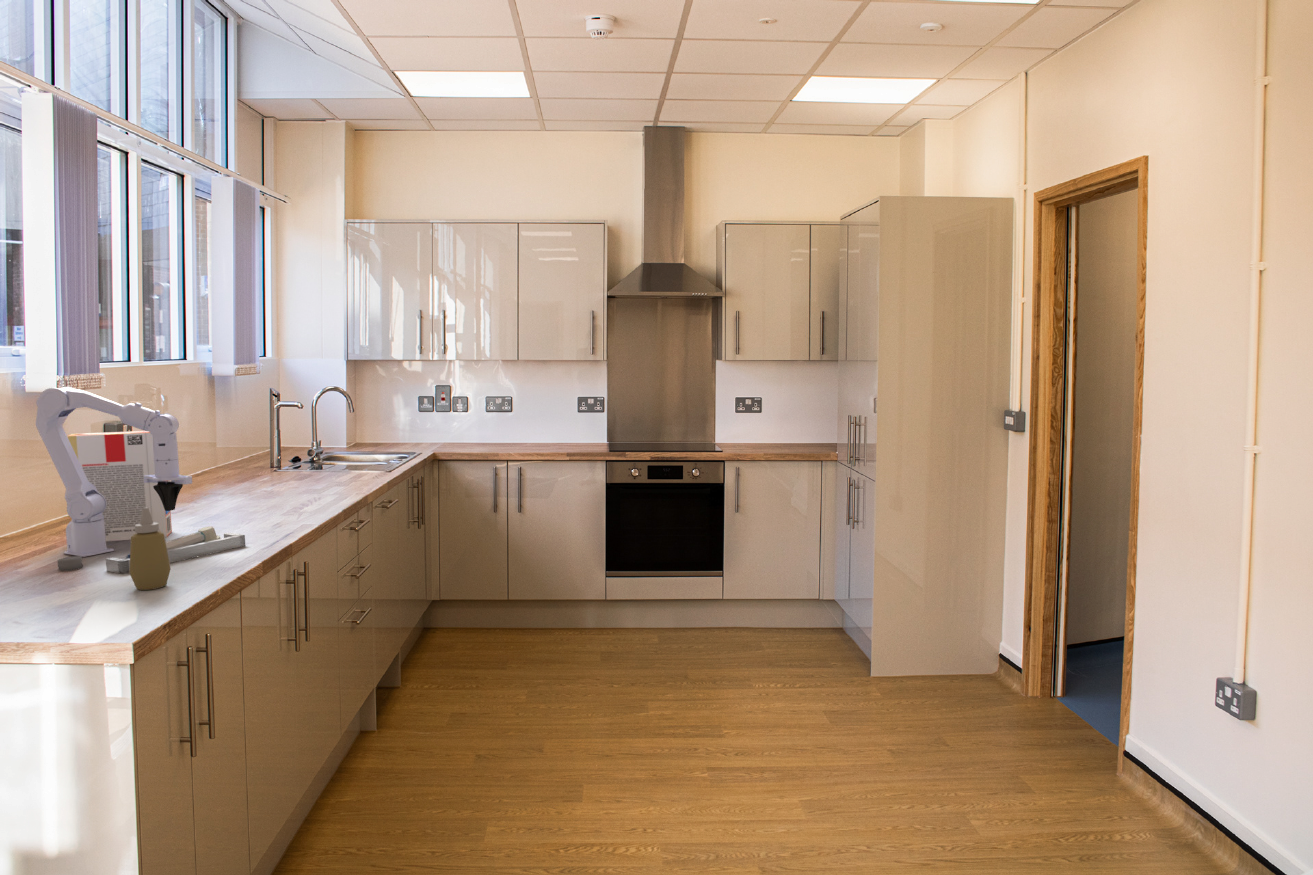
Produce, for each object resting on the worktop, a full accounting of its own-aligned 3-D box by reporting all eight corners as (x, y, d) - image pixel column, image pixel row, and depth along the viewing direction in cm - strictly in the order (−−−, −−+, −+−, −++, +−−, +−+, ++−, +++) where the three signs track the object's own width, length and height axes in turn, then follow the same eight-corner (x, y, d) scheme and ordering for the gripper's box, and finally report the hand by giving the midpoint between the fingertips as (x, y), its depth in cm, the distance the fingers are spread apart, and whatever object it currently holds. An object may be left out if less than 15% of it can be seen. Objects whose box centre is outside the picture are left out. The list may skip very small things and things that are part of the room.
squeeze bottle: (128, 593, 196) (121, 512, 195) (133, 585, 204) (127, 506, 202) (170, 589, 200) (164, 509, 198) (173, 580, 207) (167, 503, 205)
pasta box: (171, 531, 265) (164, 430, 262) (167, 536, 257) (159, 432, 254) (82, 538, 257) (73, 433, 254) (74, 543, 250) (65, 436, 247)
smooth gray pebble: (55, 569, 220) (54, 559, 220) (77, 565, 224) (76, 555, 224) (63, 572, 217) (62, 562, 217) (86, 567, 221) (85, 557, 221)
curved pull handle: (106, 570, 218) (105, 558, 217) (229, 543, 246) (229, 532, 246) (122, 573, 214) (121, 561, 214) (245, 545, 243) (244, 534, 243)
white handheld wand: (122, 552, 220) (207, 520, 243) (127, 578, 222) (212, 543, 244) (136, 554, 218) (221, 521, 240) (142, 580, 220) (226, 545, 242)
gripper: (132, 460, 238) (136, 511, 239) (175, 462, 233) (179, 513, 234) (154, 457, 244) (158, 507, 246) (197, 458, 240) (200, 509, 241)
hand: (169, 510), depth 241 cm, fingers closed
